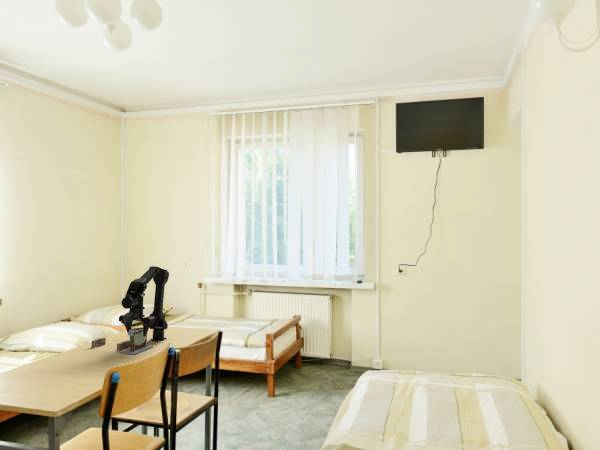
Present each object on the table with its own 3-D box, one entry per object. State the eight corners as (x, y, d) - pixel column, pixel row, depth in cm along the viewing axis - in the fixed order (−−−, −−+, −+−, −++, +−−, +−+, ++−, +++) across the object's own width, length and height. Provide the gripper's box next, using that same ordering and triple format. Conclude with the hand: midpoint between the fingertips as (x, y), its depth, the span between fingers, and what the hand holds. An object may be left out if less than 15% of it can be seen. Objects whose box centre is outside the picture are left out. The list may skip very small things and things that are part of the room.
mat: (138, 346, 243) (138, 344, 243) (153, 347, 240) (153, 346, 240) (119, 353, 229) (119, 352, 229) (134, 354, 226) (134, 353, 226)
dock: (102, 344, 246) (102, 337, 246) (130, 347, 240) (130, 340, 240) (91, 347, 238) (91, 340, 238) (120, 350, 233) (120, 344, 233)
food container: (138, 345, 242) (138, 326, 242) (148, 346, 240) (148, 327, 241) (122, 350, 231) (122, 331, 231) (132, 352, 229) (132, 332, 229)
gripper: (111, 306, 230) (110, 337, 230) (142, 309, 224) (142, 341, 224) (126, 303, 240) (125, 333, 240) (156, 305, 235) (155, 336, 234)
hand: (136, 335), depth 234 cm, fingers open, 9 cm apart
